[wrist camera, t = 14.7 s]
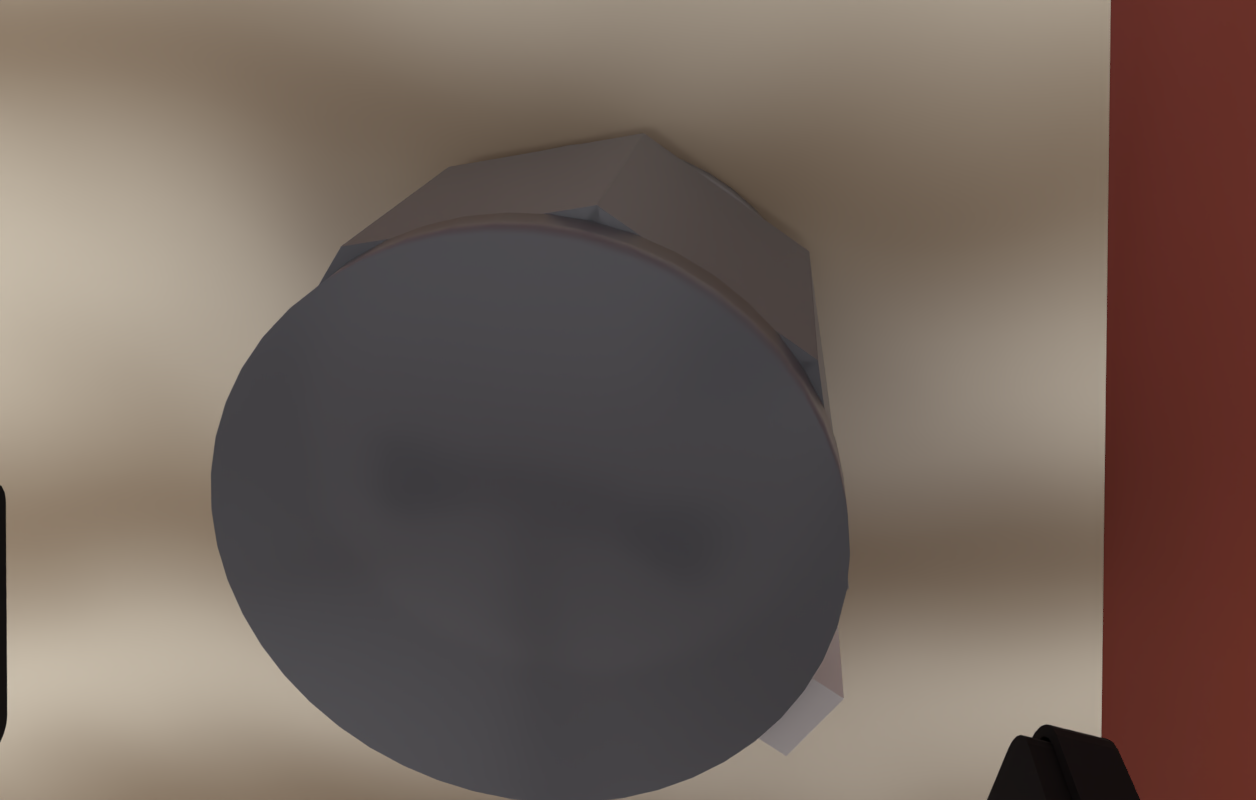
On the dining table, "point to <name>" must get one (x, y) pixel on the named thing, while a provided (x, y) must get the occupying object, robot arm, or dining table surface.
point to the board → (512, 125)
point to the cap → (547, 480)
